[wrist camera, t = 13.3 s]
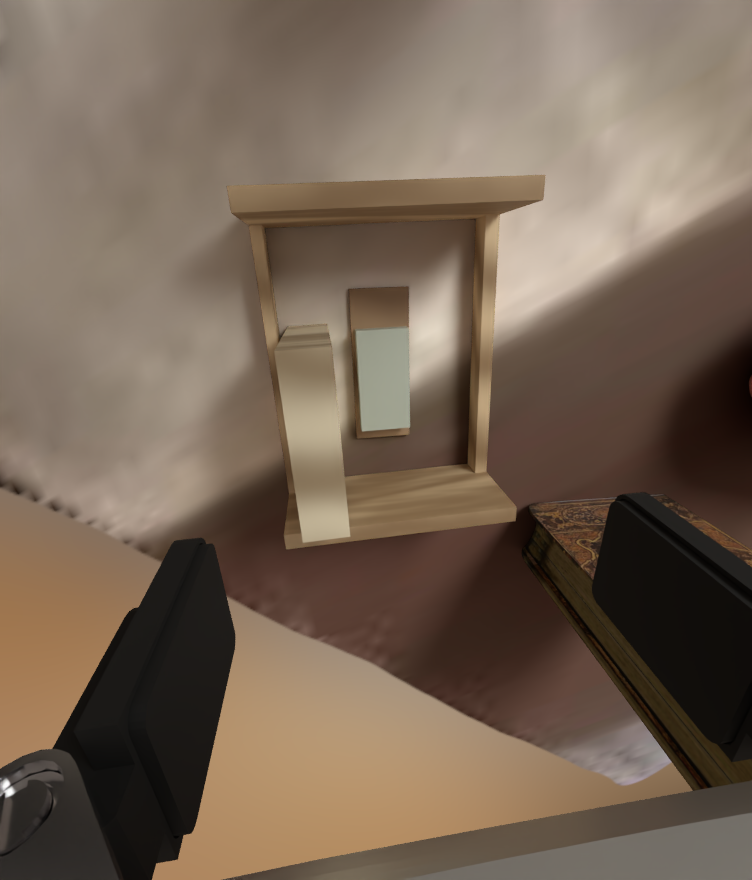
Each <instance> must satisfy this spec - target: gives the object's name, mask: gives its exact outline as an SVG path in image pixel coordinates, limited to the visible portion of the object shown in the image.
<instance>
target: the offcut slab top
mask: <svg viewBox="0 0 752 880" xmlns="http://www.w3.org/2000/svg"><path fill="white" fill-rule="evenodd" d="M355 342H356V359H357V376H358V392H359V409H360V426H361V430H362V431H374V430H386V429H397V428H409V427H410V386H409V328H408V327H406V326H401V327H384V328H367V329H355Z"/></svg>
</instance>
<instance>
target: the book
mask: <svg viewBox="0 0 752 880" xmlns="http://www.w3.org/2000/svg"><path fill="white" fill-rule="evenodd" d="M651 496H652V497H654V498H655V499H656V500H658V501H659V502H661V503H662V504H664V505H665V506H666V507H668V508H669V509H671V510H672V511H673V512H675V513H676V514H678V515H679V516H681V517H682V518H683V519H685V520H686V521H688V522H689V523H690V524H692V525H693V526H695V527H696V528H698V529H699V530H700V531H702V532H703V533H705V534H706V535H707V536H709V537H710V538H712V539H713V540H714V541H716V542H717V543H719V544H720V545H722V546H723V547H724V548H726V549H727V550H729V551H730V552H731V553H733V554H734V555H736V556H737V557H739V558H740V559H741V560H743V561H744V562H746V563H747V564H748V565H750V566H751V567H752V550H751V549H749V548H748V547H746V546H745V545H743V544H741V543H740V542H738V541H737V540H735V539H734V538H732V537H730V536H729V535H727V534H726V533H724V532H722V531H721V530H719V529H718V528H716V527H715V526H713V525H711V524H710V523H708V522H707V521H705V520H703V519H702V518H700V517H699V516H697V515H696V514H694V513H692V512H691V511H689V510H688V509H686V508H684V507H683V506H681V505H680V504H678V503H677V502H675V501H673V500H672V499H670V498H669V497H667V496H665V495H664V494H659V495H651ZM616 498H617V497H615V498H600V499H586V500H571V501H557V502H547V503H537V504H531V505H530V506H529V513H530V515H531V516H532V518H533V519H534V520H535V521H536V528H535V531H534V534H533V536H532V538H531V539H530V541H529V542H528V544H527V545H526V546H525V548H523V549H522V557H523V559H524V560H525V563H526V564H527V565H528V567H529V568H530V570H531V571H532V572H533V574H534V575H535V576H536V578H537V579H538V580H539V582H540V583H541V585H542V586H543V587H544V589H545V590H546V591H547V593H548V594H549V595H550V597H551V598H552V600H553V601H554V602H555V604H556V605H557V606H558V608H559V609H560V610H561V612H562V613H563V614H564V616H565V617H566V619H567V620H568V621H569V623H570V624H571V625H572V627H573V628H574V629H575V631H576V632H577V633H578V635H579V636H580V638H581V639H582V640H583V642H584V643H585V644H586V646H587V647H588V648H589V650H590V651H591V653H592V654H593V655H594V657H595V658H596V659H597V661H598V662H599V663H600V665H601V666H602V667H603V669H604V670H605V672H606V673H607V674H608V676H609V677H610V678H611V680H612V681H613V682H614V684H615V685H616V686H617V688H618V689H619V691H620V692H621V693H622V695H623V696H624V697H625V699H626V700H627V701H628V703H629V704H630V706H631V707H632V708H633V710H634V711H635V712H636V714H637V715H638V716H639V718H640V719H641V720H642V722H643V723H644V725H645V726H646V727H647V729H648V730H649V731H650V733H651V734H652V735H653V737H654V738H655V739H656V741H657V742H658V744H659V745H660V746H661V748H662V749H663V750H664V752H665V753H666V754H667V756H668V757H669V759H670V760H671V761H672V763H673V764H674V765H675V767H676V768H677V769H678V771H679V772H680V773H681V775H682V776H683V777H684V779H685V780H686V782H687V783H688V784H689V785H690V787H691V788H692V790H693V791H696V790H701V789H707V788H713V787H718V786H724V785H730V784H736V783H741V782H747V781H752V759H748V760H742V761H737V762H731V761H730V760H729V758H728V757H727V756H726V755H725V753H724V752H723V751H722V750H721V749H720V747H719V746H718V745H717V744H715V743H712V742H711V741H709V740H708V739H707V738H706V737H705V736H704V735H703V734H702V733H701V731H700V730H699V729H698V728H697V726H696V725H695V724H694V723H693V722H692V720H691V719H690V718H689V717H688V715H687V714H686V713H685V712H684V710H683V709H682V708H681V707H680V705H679V704H678V703H677V702H676V701H675V699H674V698H673V697H672V696H671V694H670V693H669V692H668V691H667V689H666V688H665V687H664V686H663V684H662V683H661V682H660V681H659V680H658V678H657V677H656V676H655V675H654V673H653V672H652V671H651V670H650V668H649V667H648V666H647V665H646V664H645V662H644V661H643V660H642V659H641V657H640V656H639V655H638V654H637V652H636V651H635V650H634V649H633V647H632V646H631V645H630V644H629V643H628V641H627V640H626V639H625V638H624V636H623V635H622V634H621V633H620V631H619V630H618V629H617V628H616V626H615V625H614V624H613V623H612V622H611V620H610V619H609V618H608V617H607V615H606V614H605V613H604V612H603V610H602V609H601V608H600V607H599V605H598V604H597V603H596V601H595V600H594V597H593V594H592V583H593V579H594V574H595V570H596V565H597V561H598V556H599V552H600V547H601V542H602V538H603V533H604V529H605V524H606V520H607V515H608V511H609V507H610V504H611V503H612V502H614V501H615V499H616Z"/></svg>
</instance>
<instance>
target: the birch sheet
mask: <svg viewBox="0 0 752 880" xmlns="http://www.w3.org/2000/svg"><path fill="white" fill-rule="evenodd" d="M274 353H275V360H276V367H277V373H278V380H279V387H280V393H281V400H282V407H283V413H284V420H285V427H286V433H287V440H288V447H289V453H290V460H291V467H292V473H293V480H294V487H295V493H296V500H297V507H298V513H299V520H300V527H301V533H302V540H303V543H305V542H313V541H321V540H328V539H336V538H344V537H350V528H349V518H348V507H347V497H346V487H345V476H344V466H343V456H342V446H341V435H340V425H339V415H338V404H337V394H336V384H335V373H334V363H333V353H332V345H331V340H330V335H329V331H328V326H327V324H317V325H304V326H290V327H287V329H286V331H285V332H284V334H283V336H282V338H281V340H280V341H279V343H278V345H277V347H276V349H275V350H274Z"/></svg>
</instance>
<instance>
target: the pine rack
mask: <svg viewBox="0 0 752 880" xmlns="http://www.w3.org/2000/svg"><path fill="white" fill-rule="evenodd" d="M544 185H545V175H527V176H498V177H470V178H441V179H412V180H384V181H355V182H327V183H298V184H269V185H241V186H227V191H228V197H229V203H230V209H231V213H232V214H234V215H235V216H236V217H238V218H239V219H240V220H242V221H243V222H245V223H246V224H247V225H249V231H250V238H251V244H252V251H253V257H254V264H255V271H256V277H257V284H258V291H259V297H260V304H261V310H262V317H263V324H264V330H265V337H266V343H267V350H268V357H269V363H270V370H271V377H272V383H273V390H274V396H275V403H276V410H277V416H278V423H279V430H280V436H281V443H282V449H283V456H284V463H285V469H286V476H287V483H288V489H289V499H288V507H287V515H286V523H285V530H284V539H285V545H286V549H294V548H302V547H310V546H318V545H326V544H334V543H342V542H350V541H358V540H366V539H374V538H382V537H390V536H398V535H407V534H415V533H423V532H431V531H439V530H447V529H455V528H463V527H471V526H479V525H487V524H495V523H503V522H511V521H516V509H517V507H516V506H515V505H514V504H513V502H512V501H511V500H510V499H509V498H508V497H507V495H506V494H505V493H504V492H503V491H502V490H501V488H500V487H499V486H498V485H497V484H496V483H495V481H494V480H493V479H492V478H491V477H490V476H489V475H488V473H487V472H486V467H487V448H488V429H489V410H490V391H491V372H492V353H493V334H494V315H495V296H496V277H497V258H498V239H499V220H500V214H502V213H505V212H508V211H511V210H514V209H517V208H520V207H523V206H526V205H529V204H532V203H535V202H538V201H541V200H543V197H544ZM455 219H476V226H475V256H474V286H473V316H472V346H471V376H470V406H469V436H468V464H459V465H450V466H440V467H431V468H422V469H412V470H403V471H394V472H385V473H375V474H366V475H357V476H348V477H345V487H346V497H347V507H348V518H349V528H350V537H344V538H336V539H328V540H321V541H313V542H305V543H303V540H302V533H301V527H300V520H299V513H298V507H297V500H296V493H295V487H294V480H293V473H292V467H291V460H290V453H289V447H288V440H287V433H286V427H285V420H284V413H283V407H282V400H281V393H280V387H279V380H278V373H277V367H276V360H275V353H274V350H275V349H276V347H277V345H278V343H279V341H280V335H279V328H278V321H277V313H276V306H275V299H274V292H273V284H272V277H271V270H270V263H269V256H268V248H267V241H266V234H265V228H279V227H301V226H323V225H345V224H367V223H389V222H411V221H433V220H455Z"/></svg>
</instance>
